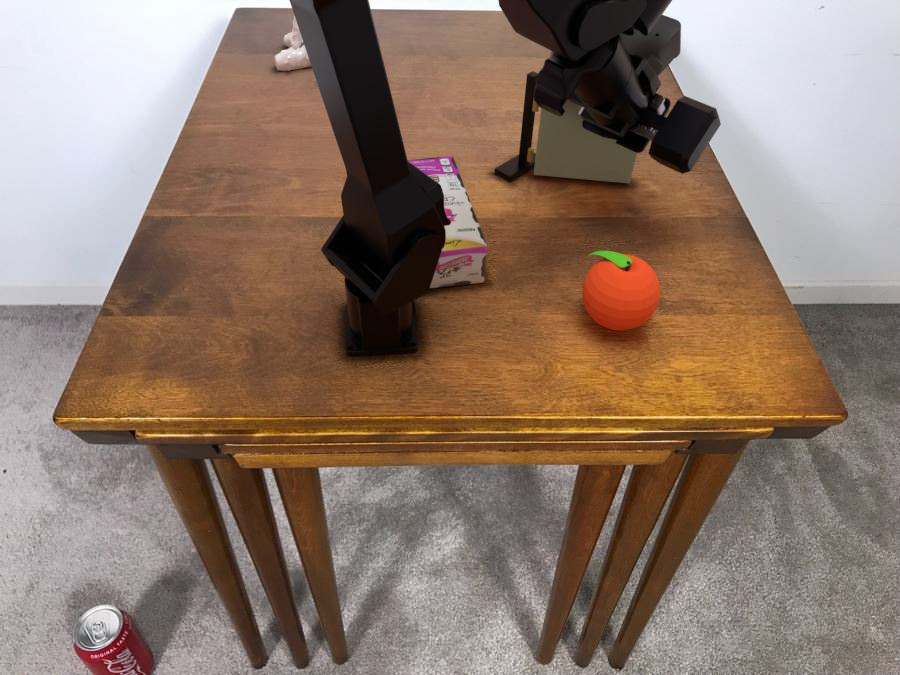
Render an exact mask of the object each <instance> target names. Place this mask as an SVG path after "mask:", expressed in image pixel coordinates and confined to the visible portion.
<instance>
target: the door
mask: <svg viewBox="0 0 900 675" xmlns="http://www.w3.org/2000/svg"><path fill="white" fill-rule="evenodd" d="M581 107H582V106H579V105H577V104H575V103H573V102H570V101H569V99H568V100H567V101H566V102H565V104H564V105H563V109H564V110H565V112H564V114H563V116H557V115H555V114H553V113H551V112H548V111H546V110H544V109H542V108H540V114H539V115H540V117H539V123H538V124H539V125H538V132H537V140H536V149H535V154H536V157H535V165H534V168H533V175H534V176H543V177H553V178H554V177H555V178H565V179H575V180H576V179H577V180H588V181H599V182H608V183H610V182H611V183H619V184H620V183H621V184H631V180H632V176H633V172H634V167H635V163H636V158H637V155H638V153H636V152H633V151H631V150H629V149H627V148H625V147H623V146H620V145H618V144H616V141H617V140H613V139H609V138H604V137H601V136H599V135H597V134H595V133H593V132H590V131H588V130H586V129H584V128H583V126H582V122H583V119H582V117H581V116H580V115H579V111H580V109H581Z"/></svg>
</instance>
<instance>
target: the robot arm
mask: <svg viewBox="0 0 900 675" xmlns="http://www.w3.org/2000/svg"><path fill="white" fill-rule="evenodd" d="M672 2H673V0H498V6H499V8H500V10H501V11H502V13H503V15H504V16H505V18H506V20H507V21H508V23H509V24H510V26H511V28H512V29H513V31H514V32H515V33H516V34H518V35H519V36H521V37H523V38H525V39H527V40H529V41H531V42H533V43H534V44H537V45H539V46H541V47H543V48H544V49H546V50H549V51H550V54H549V57H548V58H546V59H545V60H544V62H543V65H542V67H541V68H540V70H539V71H538V72H537V73H538V77H537V80H536V83H537V84H536V86H535V88H534V101H535V102H536V103H537V104H538V106H539V108H540V109H541V108H542V109H544V110H546V111H548V112H551V113H553V114H555V115H557V116H563V114H564V112H565V110H564V109H563V105H564V104H565V102H566V101H567V100H568V99H569V101H570V102H573V103H575V104H577V105H579V106H582V107H581V109H580V111H579V115H580V116H581V117H582V119H583V122H582V126H583V128H584V129H586V130H588V131H590V132H593V133H595V134H597V135H599V136H601V137H604V138H609V139H613V140H617V141H616V144H618V145H620V146H623V147H625V148H627V149H629V150H631V151H633V152H636V153H637V154H641V153H643V152H644V151H645V150H646V148H647V146H648V145H649V143H650V145H649V150H648V155H649V156H650V158H651V159H653V160H654V161H656V163H659V164H660V165H662V166H664V167H666V168H669V169H671V170H673V171H675V172H677V173H679V174H682V175H684V174H686V173H689V172H691V171H692V170H693V168H694V167H695V166H696V164H697V163H698V161H699V159H700V157H701V156H702V154H703V153H704V151H705V150H706V148H707V147H708V146H709V144H710V142H711V141H712V139H713V137H714V136H715V134H716V133H717V131H718V130H719V128H720V127H721V124H722V122H721V119H720V116H719V112H718V109H717V108H716V107H714V106H711V105H709V104H707V103H703V102H701V101H700V100H699V101H698V100H696V99H694V98H691V97H689V96H686V95H684V96H682V97H680V98H679V99H677V100H676V102H675V104H674V105H673V107H672V108H671V100H670V98H668V97H665V96H664V95H662V94H659V93H657V92H658V91H659V89H660V87H661V85H662V82H661V81H660V78H659V76H660V75H662V73H663V72H664V71H665V70H666V69H667V68H668V66H669V65H670V64H671V63H672V62H673V61H674V60H675V59H676V58H677V57H679V55H680V54H681V51H682V50H681V49H682V48H681V47H682V46H681V44H682V24H681V22H680V21H679V20H678V19H676V18H673V17H671V16H667V15H664V13H665V12H666V10H667V9H668V7H669V5H671V3H672ZM289 3H290V6H291V9H292V12H293V16H294V15H295V18H296V21H297V24H298V27H299V30H300V33H301V36H302V39H303V42H304V45H305V48H306V51H307V54H308V57H309V60H310V63H311V69H312V72H313V75H314V79H315V81H316V84H317V87H318V90H319V93H320V96H321V99H322V101H323V104H324V108H325V111H326V114H327V117H328V120H329V122H330V125H331V129H332V132H333V135H334V137H335V141H336V144H337V146H338V149H339V152H340V155H341V158H342V162H343V164H344V168H345V172H346V178H345V181H344V184H343V187H342V189H341V194H340V200H341V208H342V214H343V215H342V217H340V219H339V221H338V222H337V224H336V226H335V227H334V228H333V230H332V231H331V233H330V235H329V236H328V238H327V239H326V241H325V242H324V244H323V245H322V247H321V249H320V251H321V253H322V255H323V256H324V257H325V259H326V261H327V262H328V264H330V266H332V267H334V268H335V269H336V270H337V271H338V272H339V273H340V274H341V275H342V276H343V277H344V287H345V296H346V304H345V325H344V326H345V335H344V338H345V339H344V340H345V341H344V349H345V354H346V355H347V356H366V355H383V354H384V355H386V354H402V353H416V352H417V351H418V350H419V335H418V334H419V333H418V323H417V313H416V300H418V299H420V298H423V297H424V296H426V295H427V294H428V293H429V292H430V289H431V288H430V286H431V282H432V279H433V276H434V273H435V270H436V267H437V264H438V261H439V258H440V255H441V251H442V248H444V246H445V241H446V230H445V227H444V226H447V225H450V224H451V221H450V220H449V219H448V218H447V216H446V213H445V210H444V194H443V191H442V187H441V185H440V184H439V183H437V182H436V181H435V180H433V179H432V178H431V177H429V176H428V175H427V174H425V173H424V172H423V171H421V170H420V169H418V168H417V167H416V166H414V165H413V164H412V163H410V162H409V161H408V160H409V159H408V156H407V152H406V148H405V144H404V141H403V136H402V131H401V128H400V124H399V120H398V116H397V110H396V107H395V104H394V100H393V96H392V91H391V87H390V83H389V78H388V75H387V71H386V66H385V62H384V58H383V53H382V50H381V46H380V41H379V37H378V33H377V29H376V25H375V21H374V17H373V13H372V9H371V4H370V1H369V0H289ZM670 108H671V110H670ZM650 141H651V142H650Z"/></svg>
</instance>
